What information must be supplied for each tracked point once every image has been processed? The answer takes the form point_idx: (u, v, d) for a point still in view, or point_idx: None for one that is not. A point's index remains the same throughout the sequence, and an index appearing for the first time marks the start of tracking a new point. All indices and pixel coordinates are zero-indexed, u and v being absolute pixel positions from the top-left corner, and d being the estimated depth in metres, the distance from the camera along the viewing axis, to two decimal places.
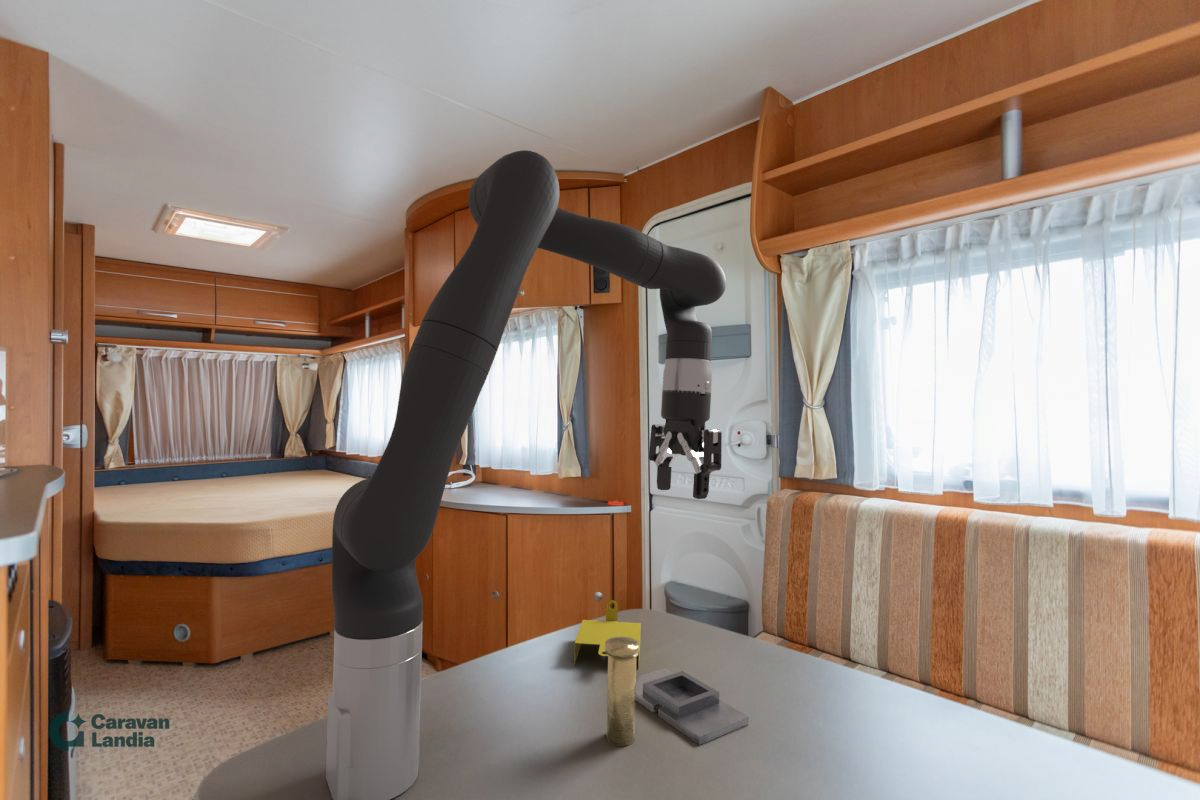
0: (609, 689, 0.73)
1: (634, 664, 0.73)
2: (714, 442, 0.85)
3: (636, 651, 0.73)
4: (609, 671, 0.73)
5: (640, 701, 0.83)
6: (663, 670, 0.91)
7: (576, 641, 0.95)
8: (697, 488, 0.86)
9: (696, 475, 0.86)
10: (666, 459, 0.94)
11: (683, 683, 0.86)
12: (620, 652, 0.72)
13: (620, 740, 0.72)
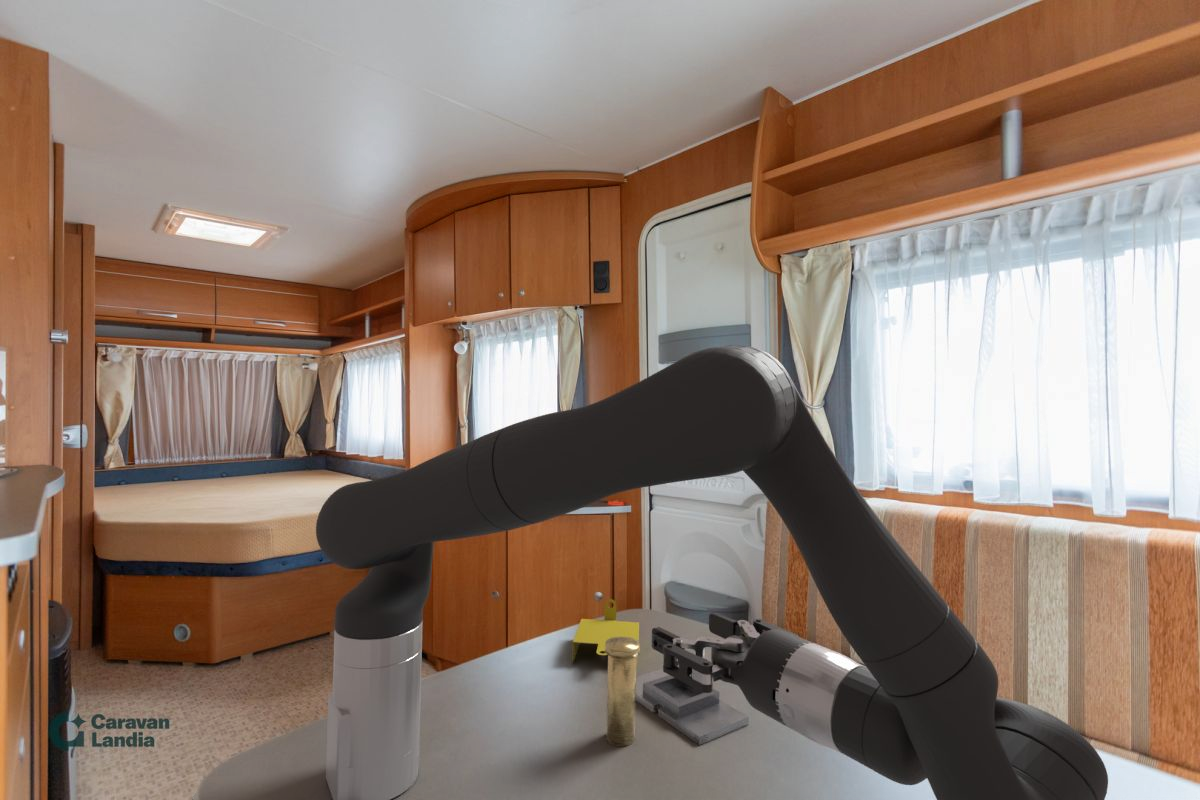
0: (609, 689, 0.73)
1: (634, 664, 0.73)
2: (692, 671, 0.54)
3: (636, 651, 0.73)
4: (609, 671, 0.73)
5: (640, 701, 0.83)
6: None
7: (574, 640, 0.95)
8: (661, 633, 0.61)
9: (674, 637, 0.60)
10: None
11: (683, 683, 0.86)
12: (620, 652, 0.72)
13: (620, 740, 0.72)
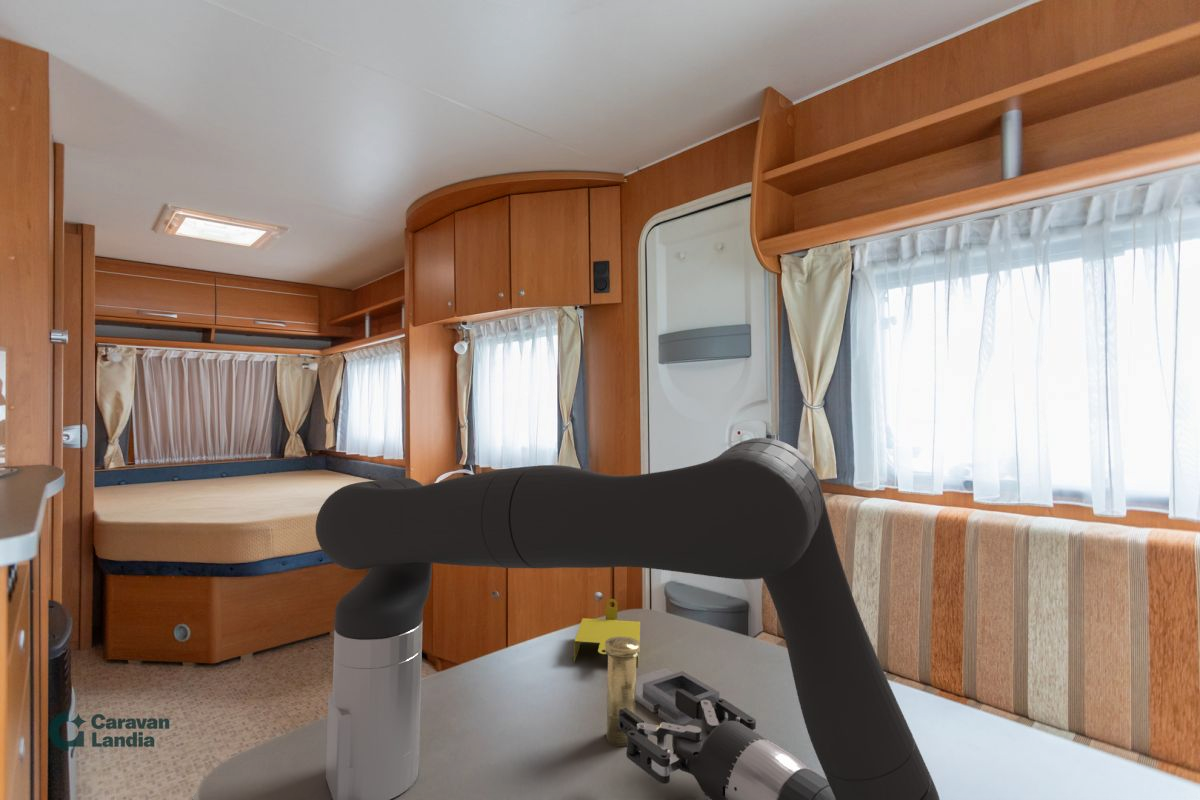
0: (609, 689, 0.73)
1: (634, 664, 0.73)
2: (651, 761, 0.58)
3: (636, 651, 0.73)
4: (609, 671, 0.73)
5: (640, 701, 0.83)
6: (663, 670, 0.91)
7: (576, 639, 0.96)
8: (627, 715, 0.65)
9: (639, 721, 0.64)
10: None
11: (683, 683, 0.86)
12: (620, 652, 0.72)
13: (620, 740, 0.72)
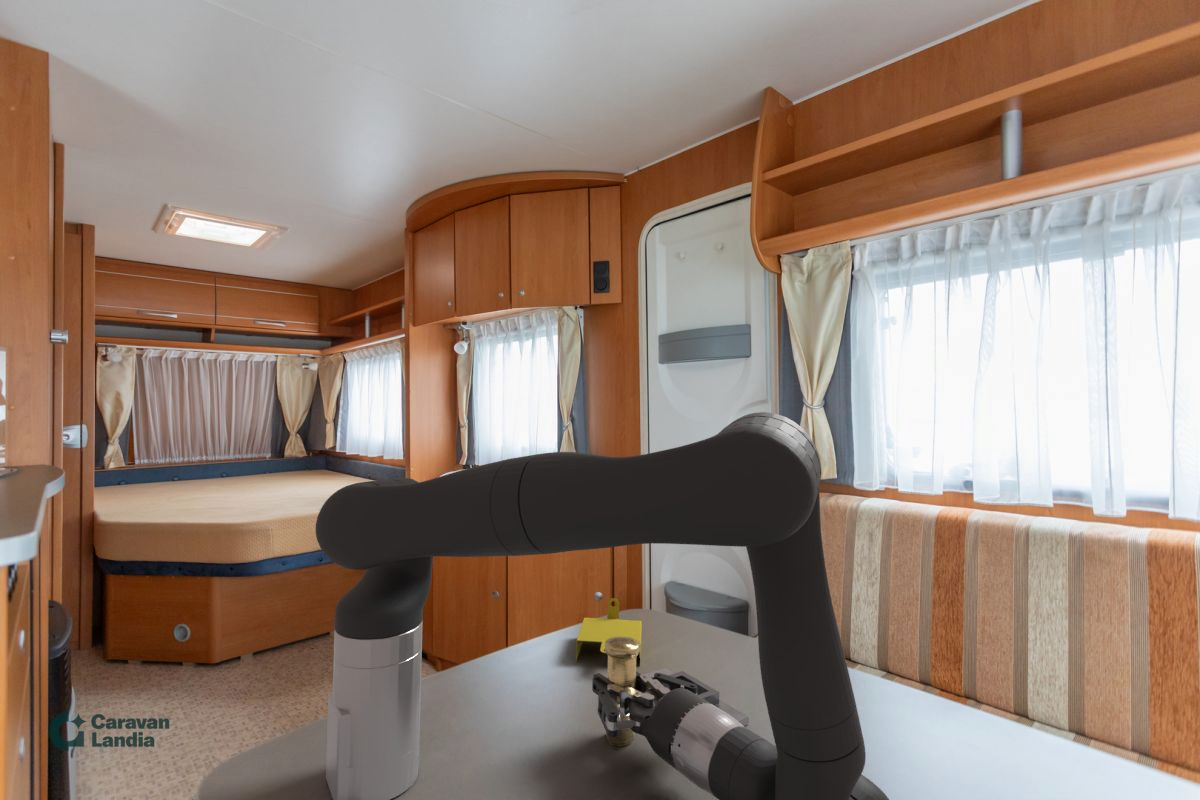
0: None
1: (634, 664, 0.73)
2: (605, 717, 0.66)
3: (636, 651, 0.73)
4: (609, 671, 0.73)
5: None
6: (663, 670, 0.91)
7: (578, 638, 0.96)
8: (600, 679, 0.74)
9: (609, 683, 0.72)
10: (646, 690, 0.74)
11: None
12: (620, 652, 0.72)
13: (620, 740, 0.72)
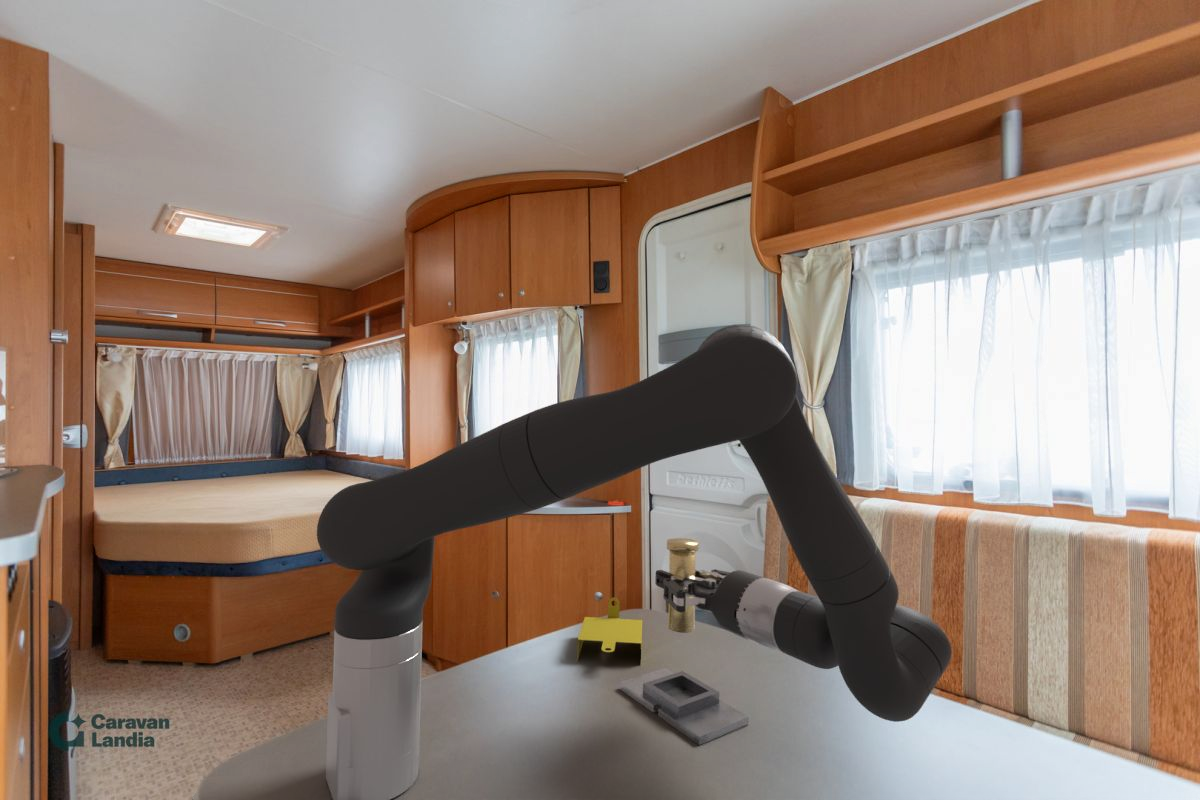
0: None
1: (694, 559, 0.81)
2: (673, 596, 0.74)
3: (696, 547, 0.80)
4: (671, 566, 0.81)
5: (640, 701, 0.83)
6: (663, 670, 0.91)
7: (579, 638, 0.97)
8: (662, 573, 0.81)
9: (672, 575, 0.80)
10: None
11: (683, 683, 0.86)
12: (682, 547, 0.79)
13: (682, 627, 0.80)
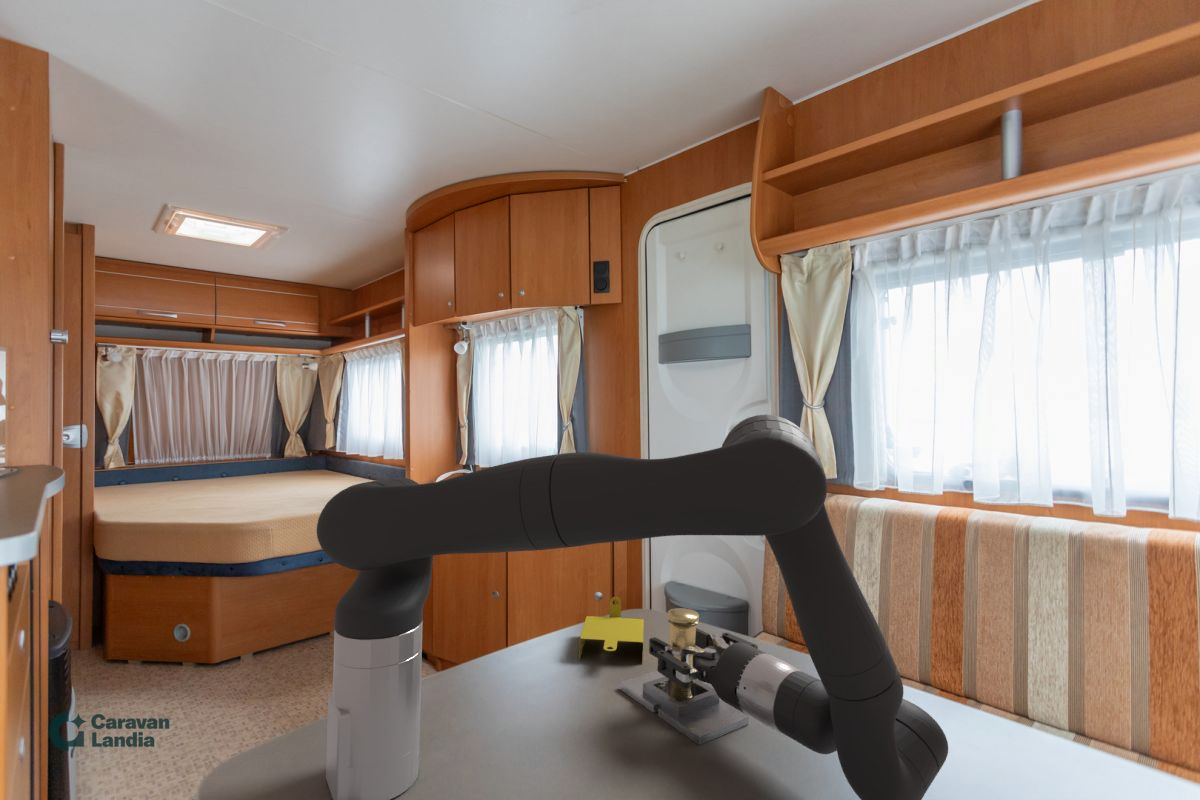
0: None
1: (694, 632, 0.81)
2: (675, 672, 0.74)
3: (696, 620, 0.81)
4: (671, 638, 0.82)
5: (640, 701, 0.83)
6: None
7: (581, 637, 0.97)
8: (656, 642, 0.81)
9: (666, 645, 0.79)
10: None
11: None
12: (683, 621, 0.80)
13: (682, 699, 0.81)
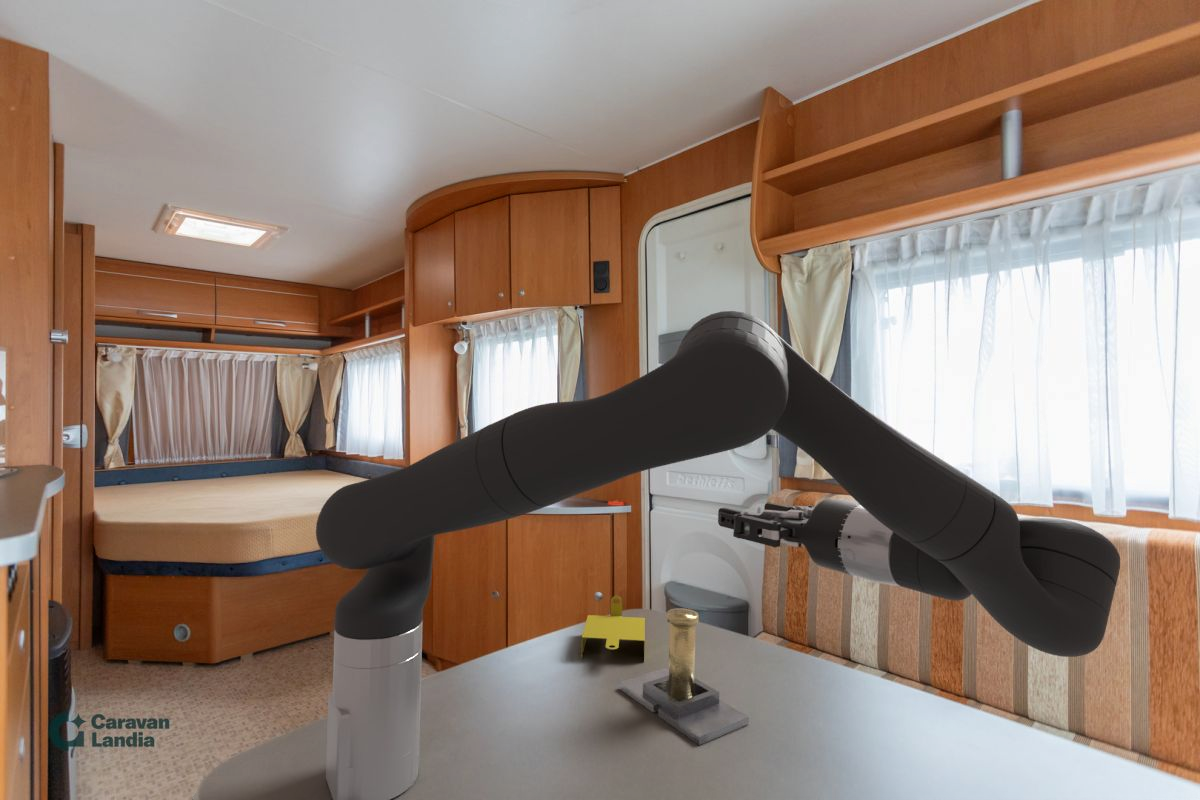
0: (671, 654, 0.82)
1: (694, 632, 0.81)
2: (762, 531, 0.63)
3: (696, 620, 0.81)
4: (671, 638, 0.82)
5: (640, 701, 0.83)
6: (663, 670, 0.91)
7: (583, 635, 0.97)
8: (728, 511, 0.70)
9: (741, 512, 0.69)
10: None
11: None
12: (682, 621, 0.80)
13: (682, 699, 0.81)
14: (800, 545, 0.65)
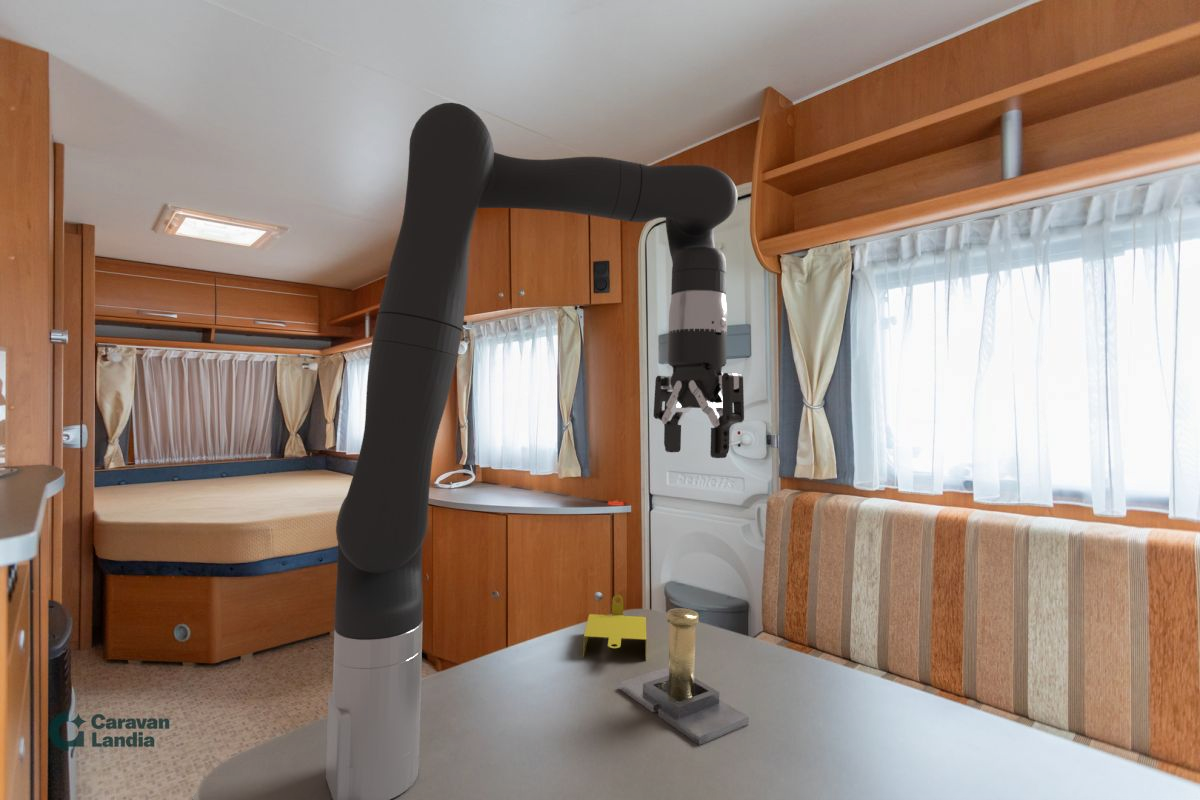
0: (671, 654, 0.82)
1: (694, 632, 0.81)
2: (735, 388, 0.70)
3: (696, 620, 0.81)
4: (671, 638, 0.82)
5: (640, 701, 0.83)
6: (663, 670, 0.91)
7: (585, 634, 0.98)
8: (715, 445, 0.71)
9: (714, 429, 0.71)
10: (674, 416, 0.79)
11: None
12: (682, 621, 0.80)
13: (682, 699, 0.81)
14: None
